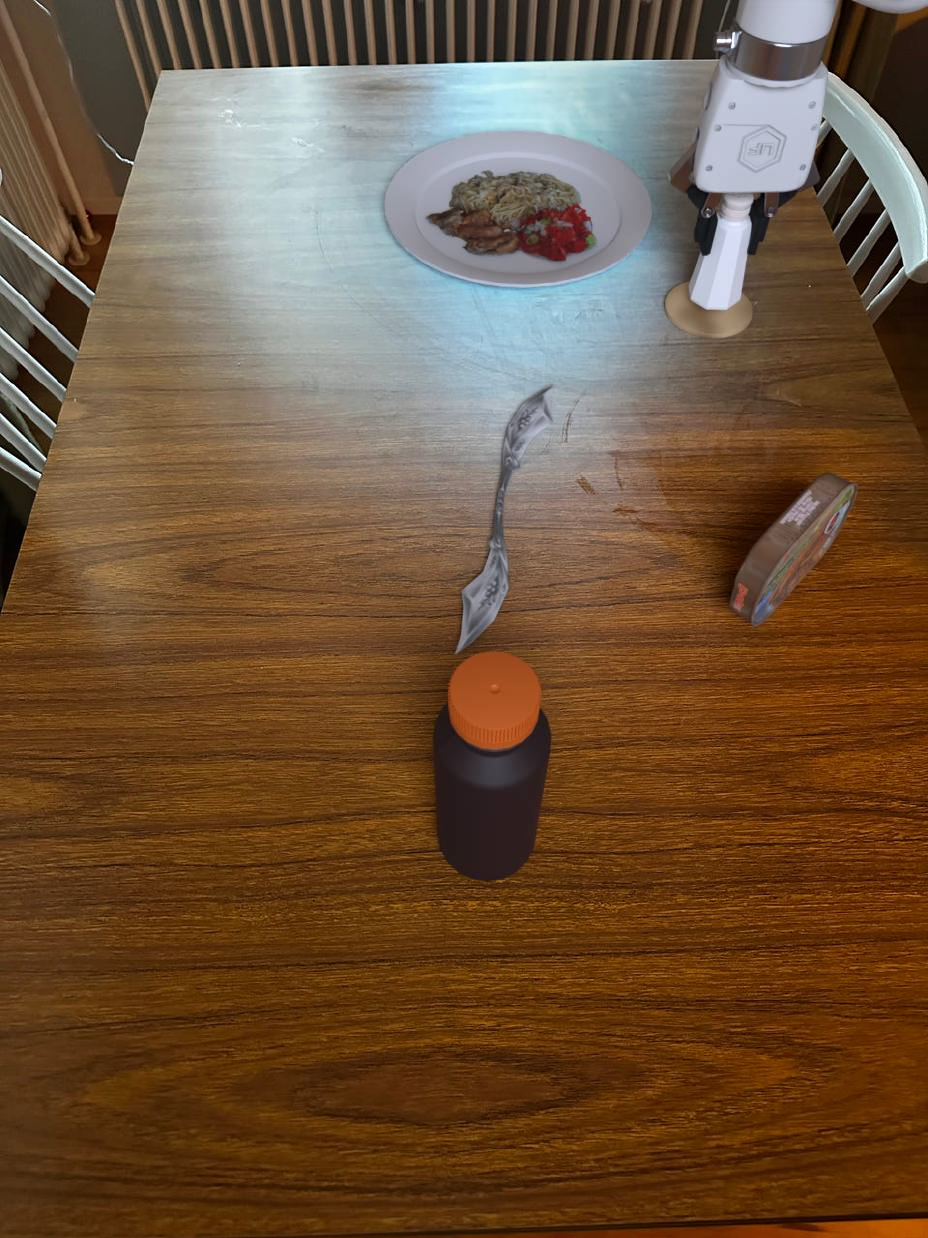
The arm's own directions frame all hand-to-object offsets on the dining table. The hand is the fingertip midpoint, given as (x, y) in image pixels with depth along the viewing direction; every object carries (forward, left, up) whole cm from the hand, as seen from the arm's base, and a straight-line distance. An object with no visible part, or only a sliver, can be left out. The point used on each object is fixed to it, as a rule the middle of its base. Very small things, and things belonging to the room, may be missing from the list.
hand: (726, 245), depth 93 cm
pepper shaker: (0, 0, -6) cm, 6 cm away
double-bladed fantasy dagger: (+22, +27, -8) cm, 36 cm away
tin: (0, +35, -8) cm, 36 cm away
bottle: (+25, +57, -8) cm, 63 cm away
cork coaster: (0, 0, -8) cm, 8 cm away
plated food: (+19, -17, -8) cm, 27 cm away
